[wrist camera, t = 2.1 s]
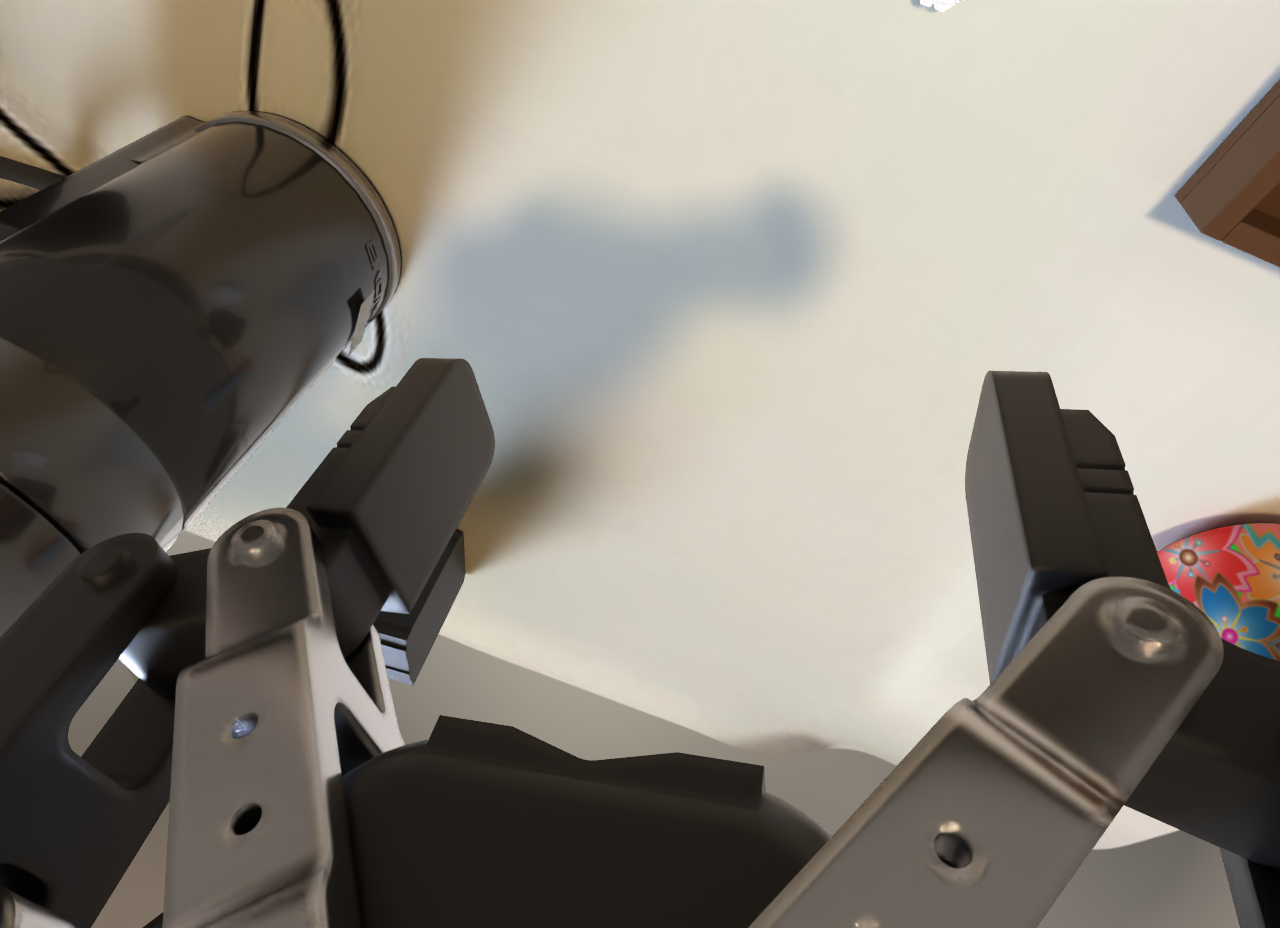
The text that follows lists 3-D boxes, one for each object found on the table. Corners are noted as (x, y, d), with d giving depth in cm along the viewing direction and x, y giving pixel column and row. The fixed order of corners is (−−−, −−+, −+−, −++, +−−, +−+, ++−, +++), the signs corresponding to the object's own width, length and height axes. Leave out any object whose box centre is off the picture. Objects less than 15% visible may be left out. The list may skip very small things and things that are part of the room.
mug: (1230, 472, 30) (1353, 713, 22) (1428, 553, 30) (1614, 815, 23) (1029, 618, 38) (1070, 828, 31) (1187, 679, 39) (1264, 900, 31)
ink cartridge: (427, 519, 44) (362, 632, 38) (463, 529, 43) (404, 644, 38) (431, 568, 47) (372, 678, 41) (465, 577, 47) (411, 689, 41)
